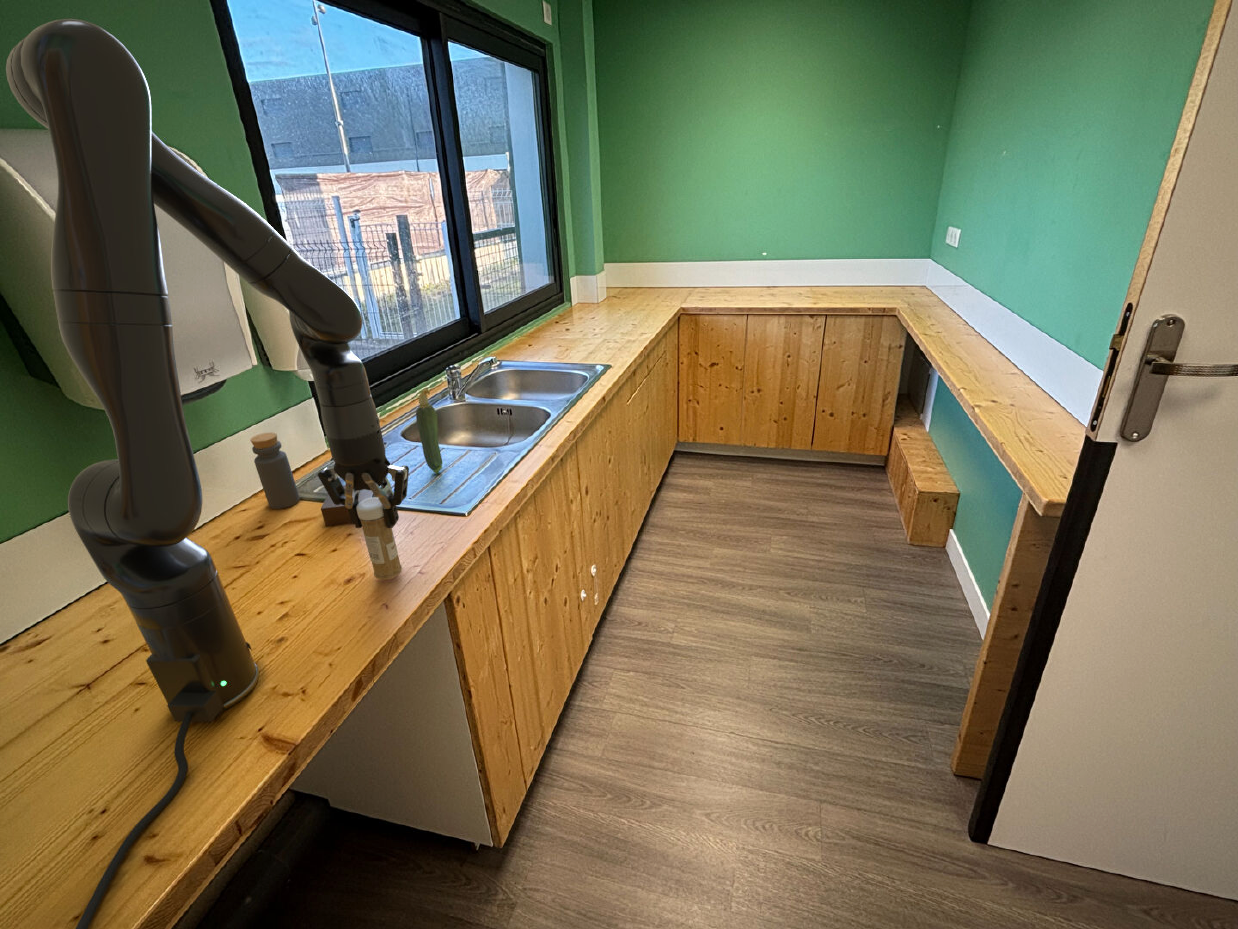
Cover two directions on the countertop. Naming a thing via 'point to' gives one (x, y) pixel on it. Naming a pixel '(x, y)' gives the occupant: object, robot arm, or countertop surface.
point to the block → (340, 509)
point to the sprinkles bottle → (379, 539)
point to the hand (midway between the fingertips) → (376, 525)
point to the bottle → (274, 471)
